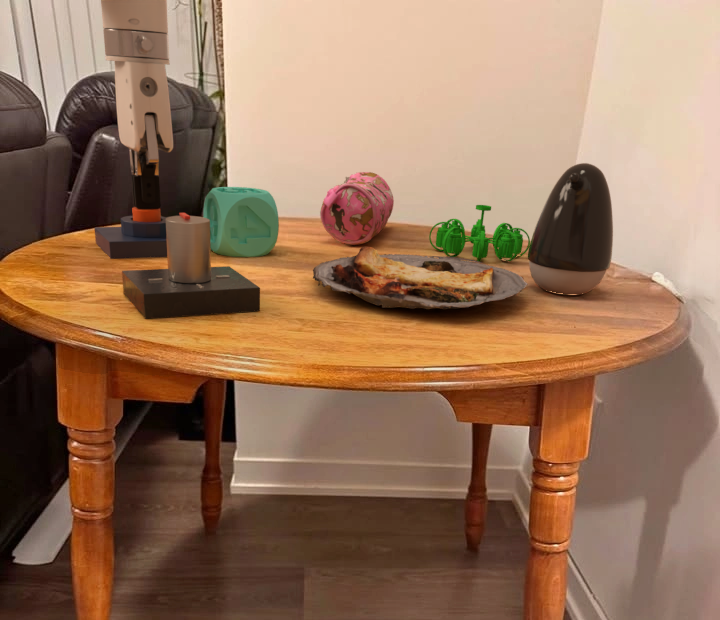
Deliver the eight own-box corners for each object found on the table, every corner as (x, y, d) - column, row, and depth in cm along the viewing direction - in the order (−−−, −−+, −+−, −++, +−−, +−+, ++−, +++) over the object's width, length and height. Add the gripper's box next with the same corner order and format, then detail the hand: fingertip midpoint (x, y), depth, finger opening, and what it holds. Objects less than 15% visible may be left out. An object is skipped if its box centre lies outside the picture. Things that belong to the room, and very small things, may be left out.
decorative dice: (278, 256, 106) (279, 195, 103) (223, 259, 103) (222, 195, 99) (257, 245, 113) (257, 186, 109) (203, 246, 109) (202, 186, 105)
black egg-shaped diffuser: (511, 291, 97) (532, 160, 90) (535, 277, 105) (555, 156, 98) (593, 305, 93) (621, 170, 86) (611, 289, 101) (637, 165, 94)
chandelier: (522, 248, 123) (530, 203, 120) (532, 268, 110) (540, 218, 107) (428, 241, 124) (433, 195, 121) (426, 259, 111) (432, 209, 108)
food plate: (277, 296, 88) (277, 264, 86) (361, 262, 107) (362, 235, 105) (491, 335, 79) (496, 301, 78) (540, 290, 98) (545, 262, 97)
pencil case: (339, 222, 134) (342, 167, 130) (392, 227, 134) (397, 172, 130) (316, 245, 116) (319, 181, 111) (378, 250, 115) (383, 187, 111)
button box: (110, 259, 98) (108, 226, 97) (95, 243, 106) (93, 213, 104) (203, 256, 104) (202, 225, 102) (182, 241, 111) (181, 212, 109)
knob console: (145, 319, 77) (143, 292, 75) (123, 293, 84) (121, 269, 83) (260, 311, 82) (260, 285, 80) (229, 288, 89) (229, 264, 88)
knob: (216, 282, 81) (215, 219, 78) (174, 284, 79) (171, 220, 76) (204, 272, 84) (202, 212, 82) (163, 274, 83) (160, 212, 80)
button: (136, 224, 101) (135, 210, 100) (130, 219, 104) (129, 206, 103) (164, 224, 103) (163, 210, 102) (157, 219, 105) (156, 206, 105)
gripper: (184, 52, 90) (191, 217, 98) (153, 51, 101) (161, 198, 110) (118, 47, 87) (130, 218, 95) (93, 46, 98) (106, 199, 107)
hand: (147, 207), depth 102 cm, fingers closed
